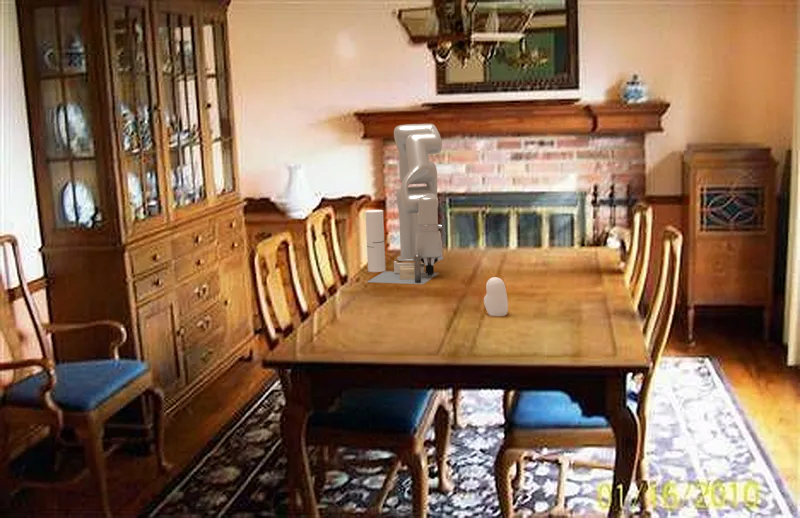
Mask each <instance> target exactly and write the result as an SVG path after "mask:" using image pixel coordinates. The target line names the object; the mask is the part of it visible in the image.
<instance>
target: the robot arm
mask: <svg viewBox="0 0 800 518" xmlns="http://www.w3.org/2000/svg"><path fill="white" fill-rule="evenodd" d="M393 139H394V142H395V145H396V147H397V149H398V158H399V159H398V162H399V163H398V164H399V166H398V167H399V168H398V169H399V172H398V173H399V180H400V182H401V185H400V188H399V189H398V190H397V191H396V196H395V197H396V202H397V203H396V204H397V209H398V217H399V218H398V219H399V243H400V244H399V245H400V246H399V247H400V255H397V257H396V259H397V260H396V261H397V262H398V261H399V262H414V256H415V255H420V257H421V260H420V262H421V263H424V266H425V272H426V273H428V276H429V275H430V276H432V273H435V271H434V269H435V268H434V265H435V264H436V263H437V262H439V261H442V260H444V256H443V241H442V234H441V231H440V229H443V225H442V224H439V222H438V221H439V220H438V219H439V217H438V215H439V213H438V212H439V211H438V210H439V209H438V208H439V198H438V169H437V165H436V163H434V162H433V161H431V160H430V157H429V155H433V154H437V155H438V154H440V153H441V152H442V148H443V142H442V137H441V134H440V132H439V131H438V128H437V127H436V125H435V124H433V123H412V124H411V123H410V124H408V123H407V124H400V125H397V126H395V128H394V130H393ZM420 184H421V185H420ZM422 184H424V185H422ZM409 185H417V186H409ZM418 185H419V186H418ZM427 258H431V263H430V265H429V263H428V259H427Z"/></svg>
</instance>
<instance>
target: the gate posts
mask: <svg viewBox="0 0 800 518" xmlns="http://www.w3.org/2000/svg"><path fill="white" fill-rule="evenodd" d="M427 259H428V263H429V265H430V263H431V258H427ZM420 260H421V257H420V255H415V256H414V261H413V263H414V271H415V283H421V263H422V261H420ZM434 273H435V272H434ZM434 273H432V274H434Z"/></svg>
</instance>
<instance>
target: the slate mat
mask: <svg viewBox="0 0 800 518" xmlns="http://www.w3.org/2000/svg"><path fill="white" fill-rule="evenodd" d="M439 274H440V272H434V274H432V276H430V275H429V276H428V273H426V271H425V273H421V283H415V279H400V273H394V271H393V270H390V271H389V270H385V271H382V272H381V273H380V274H378V275H376V276H375V277H372V278H370V279H369V280H367V281H366V283H376V284H377V283H379V284H381V283H382V284H401V285H402V284H406V285H425V284H426V283H427V282H429V281H431V280H432V279H433V278H434V277H436V276H437V275H439Z"/></svg>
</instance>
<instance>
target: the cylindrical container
mask: <svg viewBox="0 0 800 518" xmlns="http://www.w3.org/2000/svg"><path fill="white" fill-rule="evenodd" d="M364 212H365V233H366V234H365V235H366V255H367V257H366V259H367V272H369V273H380V272H381V273H383V272H384V271H386V250H385V248H386V247H385V226H384V224H385V223H384V210H382V209H368V210H365V211H364Z"/></svg>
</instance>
